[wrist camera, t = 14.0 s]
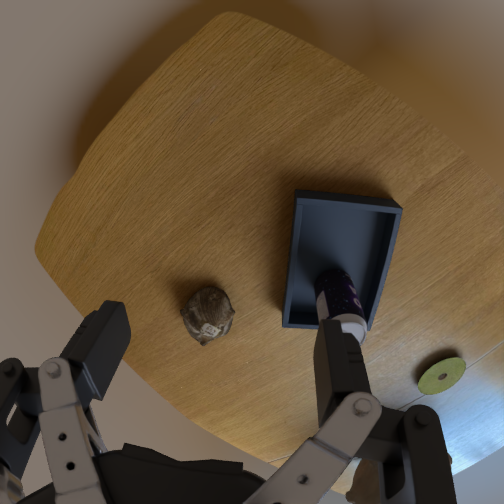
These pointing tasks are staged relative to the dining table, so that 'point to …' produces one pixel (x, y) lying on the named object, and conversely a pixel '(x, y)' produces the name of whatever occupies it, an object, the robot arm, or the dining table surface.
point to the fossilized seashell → (208, 314)
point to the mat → (441, 376)
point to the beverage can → (340, 302)
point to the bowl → (367, 483)
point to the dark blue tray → (338, 250)
